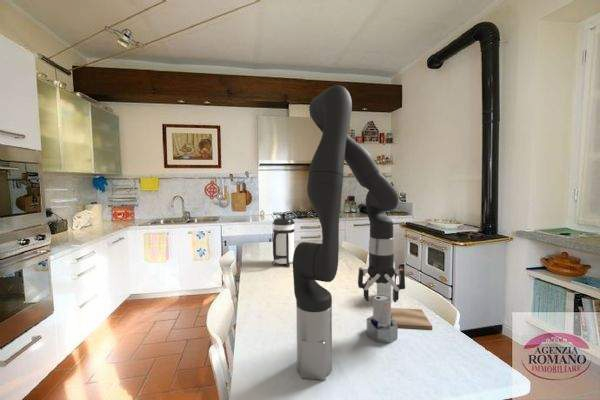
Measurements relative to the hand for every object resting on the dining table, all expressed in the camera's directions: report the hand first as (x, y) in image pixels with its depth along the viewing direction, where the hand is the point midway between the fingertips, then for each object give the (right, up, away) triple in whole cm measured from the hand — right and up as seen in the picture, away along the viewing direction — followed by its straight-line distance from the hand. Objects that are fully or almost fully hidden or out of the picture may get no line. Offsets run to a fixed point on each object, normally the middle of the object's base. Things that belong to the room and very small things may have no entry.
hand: (380, 300), depth 89 cm
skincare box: (+10, -9, +27) cm, 30 cm away
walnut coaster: (+13, -10, +10) cm, 19 cm away
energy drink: (0, -11, 0) cm, 11 cm away
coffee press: (-35, -6, +74) cm, 82 cm away
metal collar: (0, -11, 0) cm, 11 cm away
